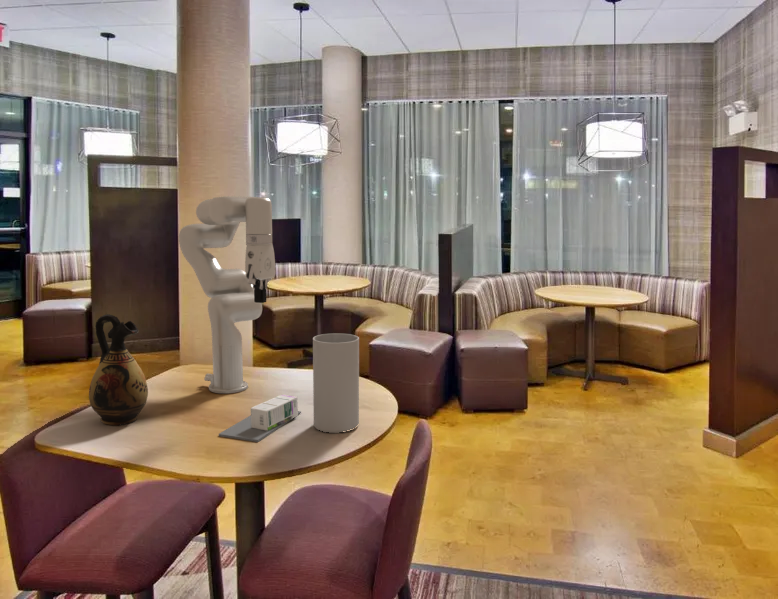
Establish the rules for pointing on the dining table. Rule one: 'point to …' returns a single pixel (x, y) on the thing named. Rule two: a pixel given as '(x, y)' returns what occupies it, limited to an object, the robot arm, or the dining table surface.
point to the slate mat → (248, 431)
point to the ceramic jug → (117, 376)
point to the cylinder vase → (336, 382)
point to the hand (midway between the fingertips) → (260, 302)
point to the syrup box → (274, 412)
